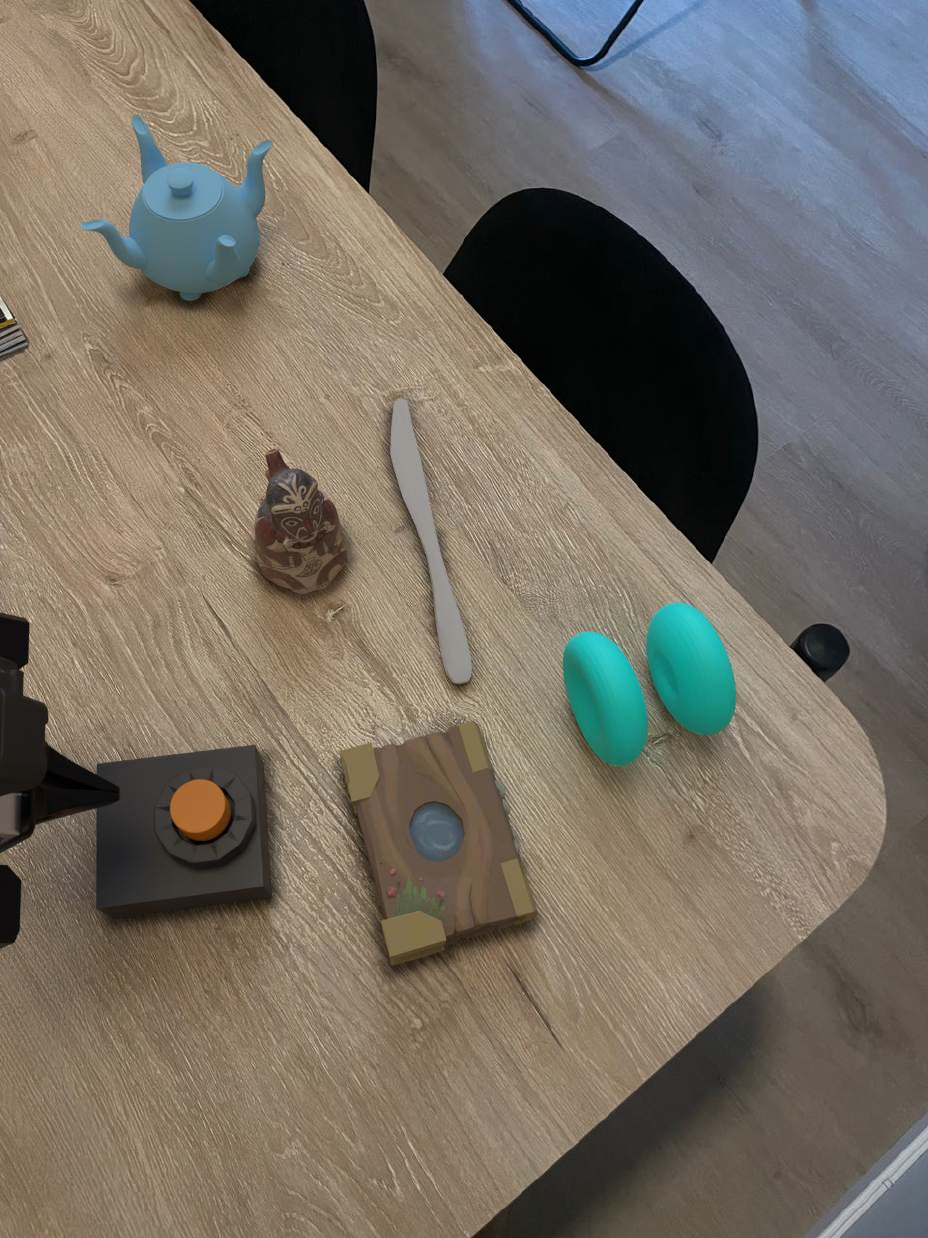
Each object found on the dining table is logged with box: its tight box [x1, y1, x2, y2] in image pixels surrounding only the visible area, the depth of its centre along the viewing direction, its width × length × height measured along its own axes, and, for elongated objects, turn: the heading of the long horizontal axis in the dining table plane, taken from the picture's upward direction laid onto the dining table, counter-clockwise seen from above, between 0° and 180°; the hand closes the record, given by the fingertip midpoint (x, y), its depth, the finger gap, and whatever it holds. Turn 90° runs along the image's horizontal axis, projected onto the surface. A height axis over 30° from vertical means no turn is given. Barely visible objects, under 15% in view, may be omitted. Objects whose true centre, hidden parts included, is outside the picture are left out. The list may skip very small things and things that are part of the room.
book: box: [339, 720, 539, 967], centre depth 75 cm, size 15×11×5 cm
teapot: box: [80, 114, 274, 302], centre depth 95 cm, size 13×13×10 cm
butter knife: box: [389, 397, 473, 685], centre depth 88 cm, size 1×27×3 cm
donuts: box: [562, 602, 737, 767], centre depth 78 cm, size 10×10×10 cm
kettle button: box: [170, 779, 231, 841], centre depth 71 cm, size 4×4×2 cm
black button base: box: [95, 744, 273, 920], centre depth 74 cm, size 11×10×6 cm
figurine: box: [253, 447, 348, 595], centre depth 82 cm, size 7×7×12 cm
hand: (116, 796), depth 66 cm, fingers closed
